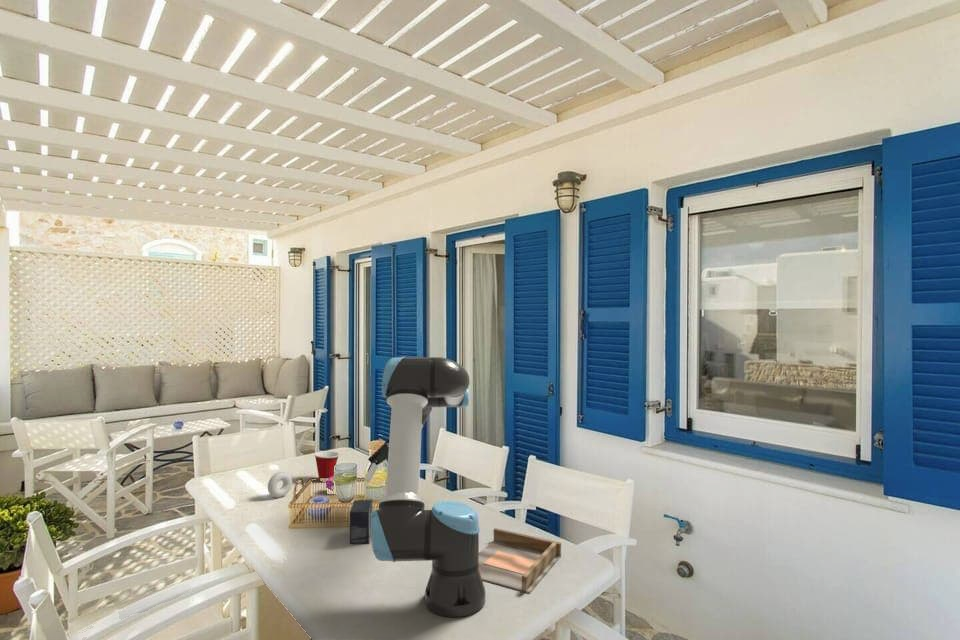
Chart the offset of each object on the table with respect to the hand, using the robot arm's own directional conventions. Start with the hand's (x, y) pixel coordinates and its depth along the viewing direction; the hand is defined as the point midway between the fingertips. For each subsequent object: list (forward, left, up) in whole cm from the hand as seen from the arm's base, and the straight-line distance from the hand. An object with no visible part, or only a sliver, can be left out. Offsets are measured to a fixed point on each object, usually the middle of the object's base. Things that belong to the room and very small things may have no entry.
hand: (381, 484), depth 171 cm
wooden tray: (-3, -50, -14) cm, 52 cm away
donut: (+3, +54, -14) cm, 56 cm away
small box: (-10, 0, -14) cm, 18 cm away
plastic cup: (+28, +54, -14) cm, 62 cm away
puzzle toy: (+18, +39, -14) cm, 45 cm away
